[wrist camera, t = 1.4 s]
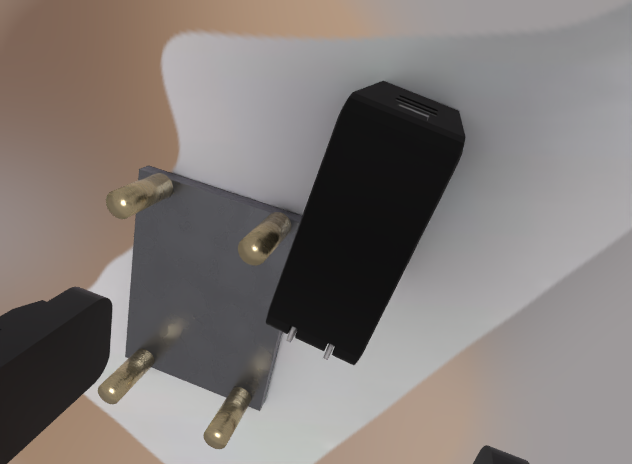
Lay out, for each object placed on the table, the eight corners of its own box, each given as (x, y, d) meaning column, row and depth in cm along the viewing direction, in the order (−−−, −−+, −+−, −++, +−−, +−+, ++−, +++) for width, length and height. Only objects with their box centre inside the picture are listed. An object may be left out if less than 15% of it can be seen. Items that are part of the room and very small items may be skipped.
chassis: (149, 162, 29) (93, 182, 24) (311, 215, 27) (284, 247, 22) (133, 350, 35) (87, 394, 30) (264, 403, 33) (235, 457, 29)
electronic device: (460, 109, 23) (469, 143, 14) (383, 269, 27) (352, 375, 18) (383, 79, 23) (344, 93, 14) (320, 241, 28) (259, 331, 18)
